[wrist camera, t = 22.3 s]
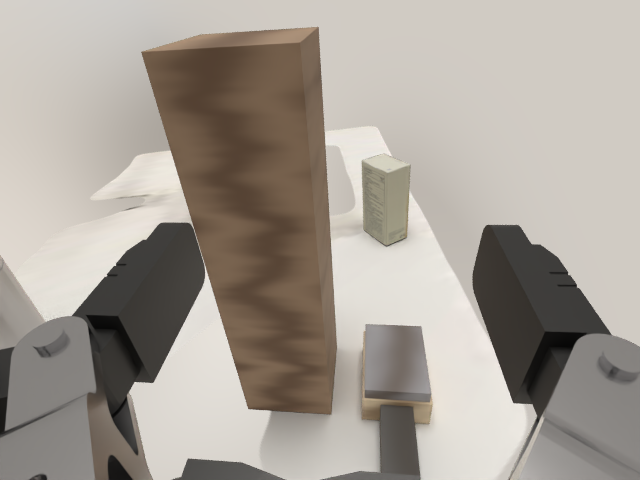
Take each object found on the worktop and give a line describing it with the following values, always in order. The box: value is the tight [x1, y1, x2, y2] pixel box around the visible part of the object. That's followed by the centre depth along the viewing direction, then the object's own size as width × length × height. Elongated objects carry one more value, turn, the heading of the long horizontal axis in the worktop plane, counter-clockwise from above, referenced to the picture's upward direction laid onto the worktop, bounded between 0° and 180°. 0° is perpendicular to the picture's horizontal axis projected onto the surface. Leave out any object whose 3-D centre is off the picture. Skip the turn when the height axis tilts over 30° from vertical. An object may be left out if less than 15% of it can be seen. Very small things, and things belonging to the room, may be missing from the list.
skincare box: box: [362, 154, 410, 246], centre depth 56 cm, size 6×4×12 cm
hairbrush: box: [362, 324, 433, 476], centre depth 32 cm, size 6×16×4 cm, turn 174°
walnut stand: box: [141, 27, 337, 414], centre depth 30 cm, size 8×8×31 cm
